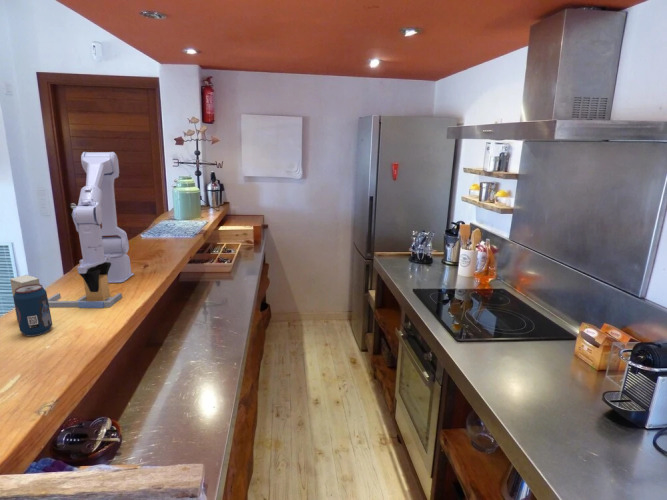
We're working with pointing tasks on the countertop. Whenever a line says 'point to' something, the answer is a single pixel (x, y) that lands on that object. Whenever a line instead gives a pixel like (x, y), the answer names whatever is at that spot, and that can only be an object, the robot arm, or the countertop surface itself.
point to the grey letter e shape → (83, 302)
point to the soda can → (32, 309)
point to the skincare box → (22, 282)
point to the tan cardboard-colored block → (102, 292)
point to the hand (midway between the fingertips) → (98, 288)
